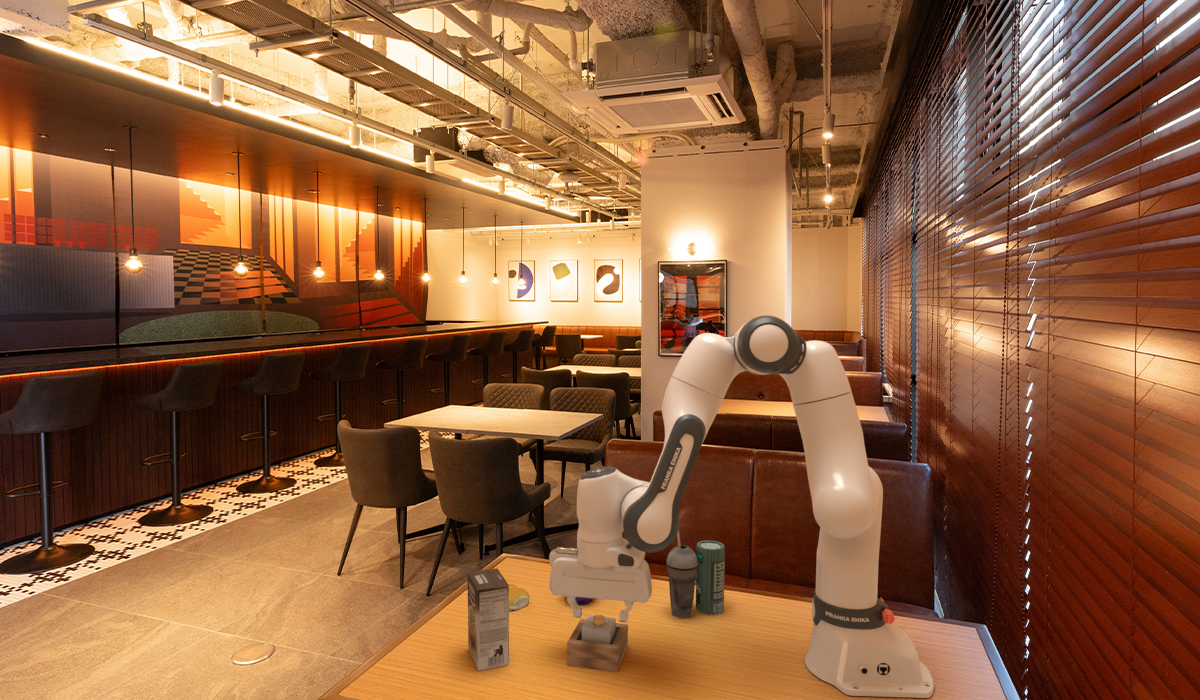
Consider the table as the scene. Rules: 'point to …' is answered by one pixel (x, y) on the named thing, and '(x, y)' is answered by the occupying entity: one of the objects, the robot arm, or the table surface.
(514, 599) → the bread roll
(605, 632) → the lid
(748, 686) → the table surface
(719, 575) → the can
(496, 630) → the coffee box
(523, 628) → the table surface
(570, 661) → the box
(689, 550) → the beverage cup
